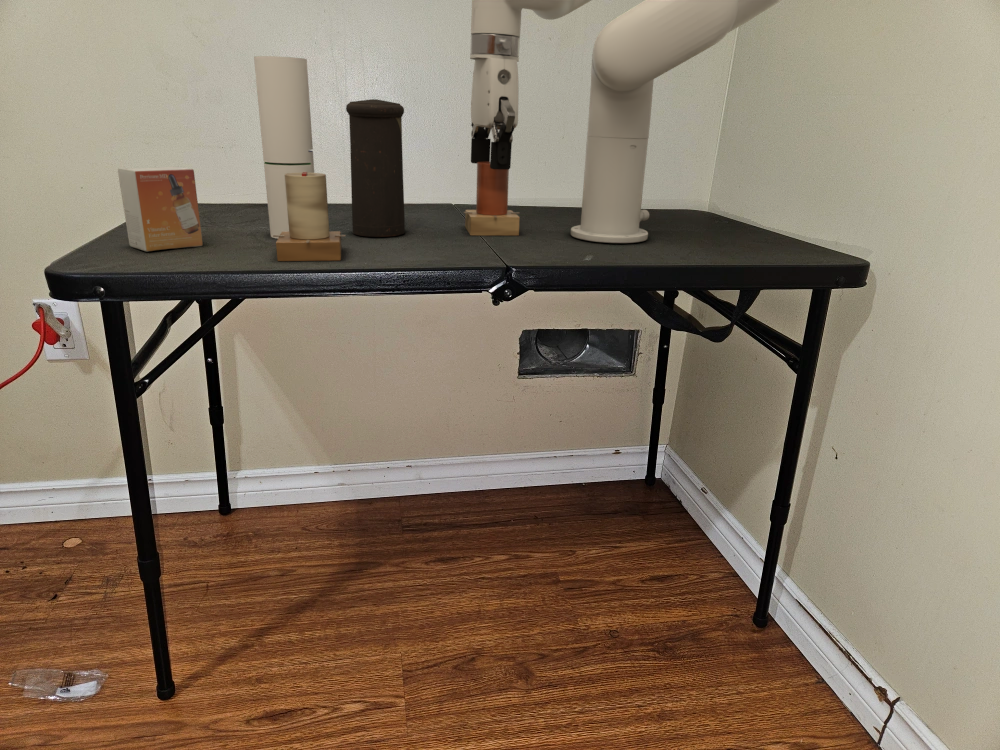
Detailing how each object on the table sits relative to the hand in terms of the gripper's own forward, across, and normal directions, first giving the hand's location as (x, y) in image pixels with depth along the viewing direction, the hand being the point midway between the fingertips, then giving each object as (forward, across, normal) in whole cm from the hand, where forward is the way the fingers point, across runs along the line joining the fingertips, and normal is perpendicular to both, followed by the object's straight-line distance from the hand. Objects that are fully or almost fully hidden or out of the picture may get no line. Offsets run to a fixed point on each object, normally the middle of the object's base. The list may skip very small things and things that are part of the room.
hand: (489, 166), depth 111 cm
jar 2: (+7, 0, -1) cm, 7 cm away
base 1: (+11, -14, +30) cm, 35 cm away
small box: (+12, -4, +49) cm, 50 cm away
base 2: (+10, 0, -1) cm, 11 cm away
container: (+11, +1, +18) cm, 21 cm away
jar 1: (+8, -14, +30) cm, 34 cm away
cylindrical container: (+11, +2, +31) cm, 33 cm away
